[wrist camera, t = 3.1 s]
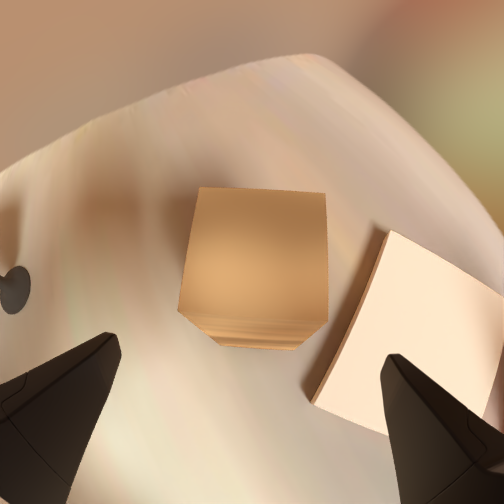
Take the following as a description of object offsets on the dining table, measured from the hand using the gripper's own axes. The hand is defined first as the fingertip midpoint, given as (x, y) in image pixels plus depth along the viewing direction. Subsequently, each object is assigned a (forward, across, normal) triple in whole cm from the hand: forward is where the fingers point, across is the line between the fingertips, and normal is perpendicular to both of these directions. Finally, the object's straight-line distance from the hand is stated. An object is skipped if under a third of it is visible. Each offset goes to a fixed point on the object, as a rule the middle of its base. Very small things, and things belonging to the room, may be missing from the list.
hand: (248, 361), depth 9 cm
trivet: (+9, -13, +7) cm, 17 cm away
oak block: (+11, 0, +5) cm, 12 cm away
